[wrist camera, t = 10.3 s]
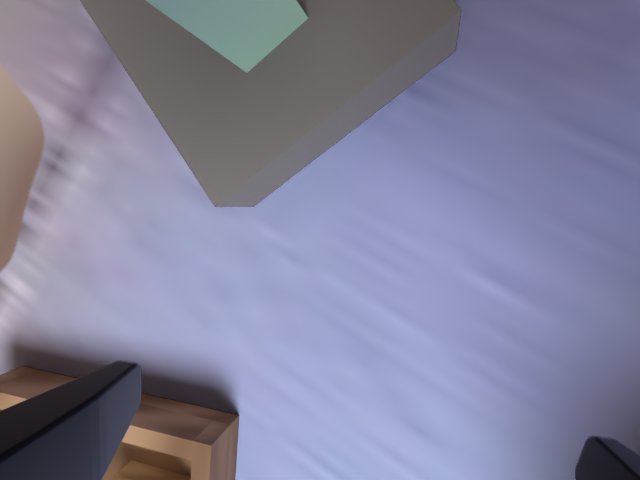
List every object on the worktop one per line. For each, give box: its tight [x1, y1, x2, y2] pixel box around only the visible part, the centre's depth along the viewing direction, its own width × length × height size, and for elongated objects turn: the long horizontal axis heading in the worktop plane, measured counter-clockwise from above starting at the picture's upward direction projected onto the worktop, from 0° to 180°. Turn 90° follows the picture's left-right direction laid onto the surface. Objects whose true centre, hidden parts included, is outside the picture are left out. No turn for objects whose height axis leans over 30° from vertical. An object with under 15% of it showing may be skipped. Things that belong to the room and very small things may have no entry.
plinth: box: [80, 0, 461, 207], centre depth 19 cm, size 12×12×4 cm
